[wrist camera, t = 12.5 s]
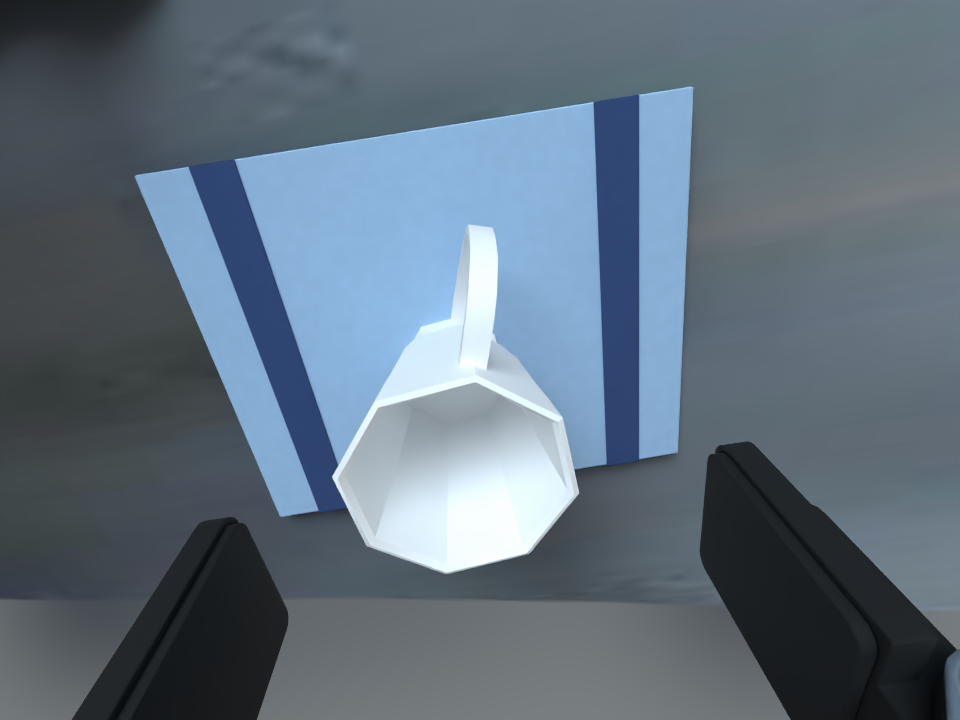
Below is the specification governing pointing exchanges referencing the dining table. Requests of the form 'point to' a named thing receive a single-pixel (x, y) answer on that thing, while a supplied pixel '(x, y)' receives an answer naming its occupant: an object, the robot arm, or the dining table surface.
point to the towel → (442, 274)
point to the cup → (459, 441)
